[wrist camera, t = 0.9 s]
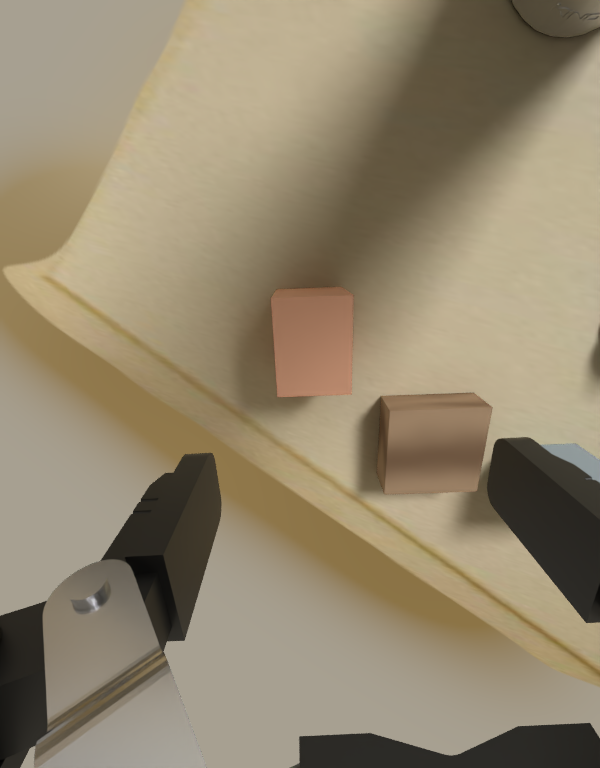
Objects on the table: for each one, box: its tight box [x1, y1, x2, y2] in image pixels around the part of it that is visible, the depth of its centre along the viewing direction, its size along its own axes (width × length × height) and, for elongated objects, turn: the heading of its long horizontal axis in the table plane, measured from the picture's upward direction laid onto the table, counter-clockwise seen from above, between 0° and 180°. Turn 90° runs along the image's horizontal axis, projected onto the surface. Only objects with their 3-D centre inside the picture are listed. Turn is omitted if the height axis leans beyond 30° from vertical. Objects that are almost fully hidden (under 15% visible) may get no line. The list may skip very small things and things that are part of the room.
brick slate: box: [541, 444, 600, 483], centre depth 29 cm, size 6×5×6 cm
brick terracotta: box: [271, 287, 354, 397], centre depth 24 cm, size 6×5×6 cm
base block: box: [377, 393, 493, 494], centre depth 29 cm, size 8×8×3 cm
